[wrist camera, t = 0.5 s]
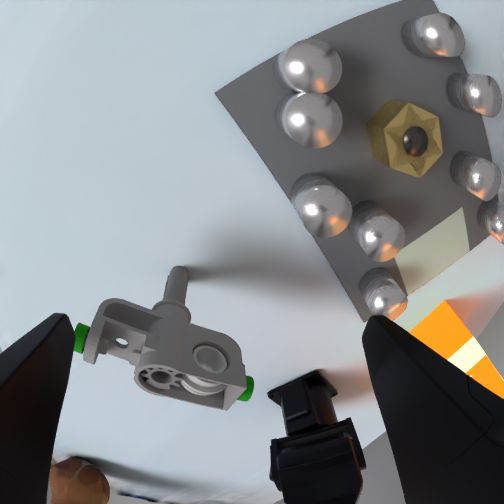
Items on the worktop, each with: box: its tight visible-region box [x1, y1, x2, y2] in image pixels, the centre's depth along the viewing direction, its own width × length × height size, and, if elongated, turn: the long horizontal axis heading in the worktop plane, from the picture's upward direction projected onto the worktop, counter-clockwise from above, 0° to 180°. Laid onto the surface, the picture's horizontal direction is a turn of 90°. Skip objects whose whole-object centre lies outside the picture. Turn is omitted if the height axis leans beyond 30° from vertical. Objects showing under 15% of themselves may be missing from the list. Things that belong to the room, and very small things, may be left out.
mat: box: [215, 0, 498, 322], centre depth 20 cm, size 23×18×1 cm
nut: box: [366, 100, 443, 178], centre depth 17 cm, size 4×5×3 cm
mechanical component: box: [74, 266, 254, 410], centre depth 18 cm, size 3×10×10 cm, turn 63°
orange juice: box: [409, 300, 504, 399], centre depth 22 cm, size 8×9×20 cm
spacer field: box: [273, 13, 504, 321], centre depth 17 cm, size 22×18×4 cm
